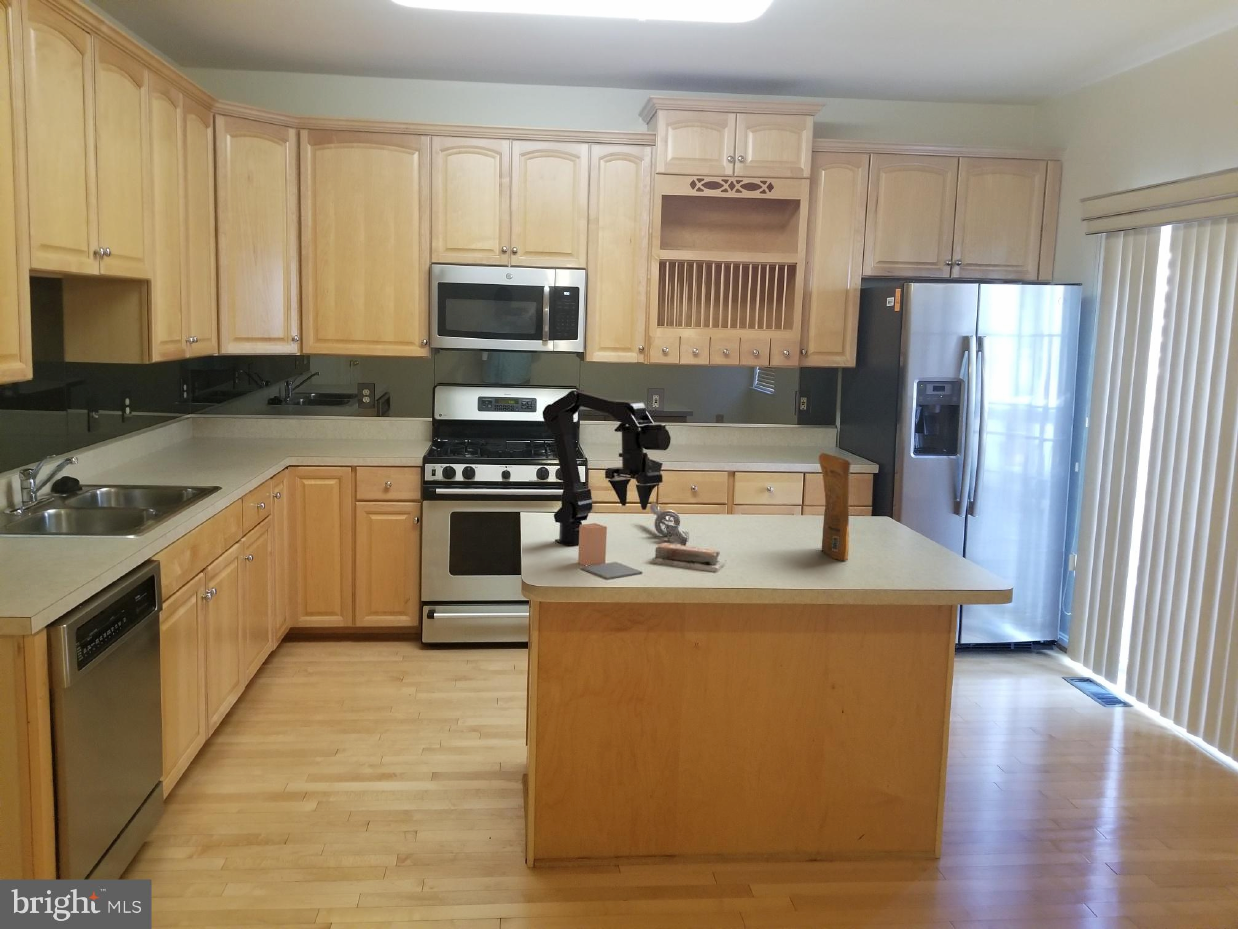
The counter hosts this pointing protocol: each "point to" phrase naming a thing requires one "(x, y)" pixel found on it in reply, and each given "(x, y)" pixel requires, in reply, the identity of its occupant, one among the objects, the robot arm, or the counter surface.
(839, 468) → the pancake mix bag
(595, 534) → the terracotta block
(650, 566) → the counter surface
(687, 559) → the packaged product
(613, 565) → the gray square plate
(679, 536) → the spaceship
